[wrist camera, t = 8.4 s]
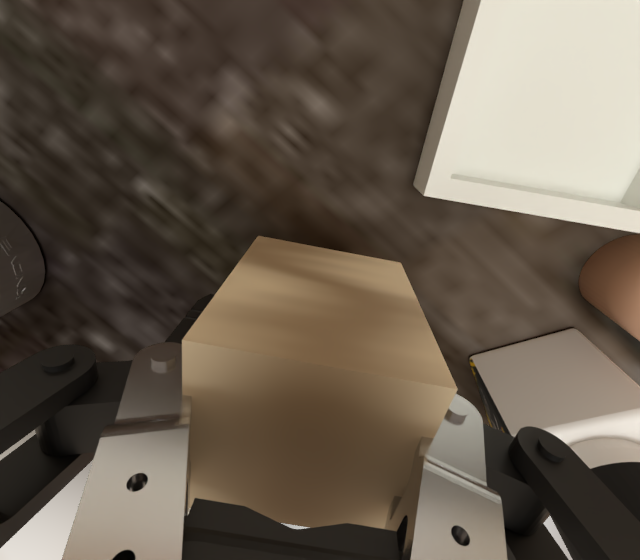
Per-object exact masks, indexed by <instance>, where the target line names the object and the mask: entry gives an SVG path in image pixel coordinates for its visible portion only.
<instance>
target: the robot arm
mask: <svg viewBox="0 0 640 560" xmlns="http://www.w3.org/2000/svg"><path fill="white" fill-rule="evenodd" d="M44 277H45V267H44V259H43V257H42V254H41V251H40V248H39V246H38V244H37V242H36V240H35V239H34V237H33V235H32V233H31V232H30V231H29V229H28V228H27V227H26V225H25V224H24V223H23V222H22V220H21V219H20V218H19V217H18V216H17V215H16V214H15V213H14V212H13V211H12V210H11V209H10V208H9V207H7V206H6V205H5V204H3V203H2V202H1V201H0V317H1V316H3V315H5V314H7V313H8V312H10V311H12V310H14V309H15V308H17V307H19V306H21V305H22V304H24V303H26V302H28V301H29V300H31V299H33V298H34V297H35V296H36V295H37V294H38V293H39V292H40V290H41V288H42V286H43V283H44ZM213 297H214V295H213V294H209V295H208V296H206V297H204V298H202V299H200V300H198V301H197V303H196V304H195V305H194V306H193V308H192V309H191V311H189V313H188V314H187V315H186V317H185V318H184V319H183V320H182V321H181V322H180V324H179V325H178V326H177V327H176V329H175V330H174V331H173V332H172V334H171V335H170V336H169V337H168V339H167V340H166V341H165V342H164V343H157V344H154V345H151V346H148V347H146V348H144V349H142V350H141V351H140V352H138V353H137V354H136V356H135V357H134V359H133V360H131V361H121V362H101V363H96V357H95V354H94V352H93V351H92V350H91V349H89V348H87V347H84V346H80V345H62V346H56V347H52V348H49V349H46V350H43V351H40V352H38V353H36V354H34V355H32V356H31V357H29V358H27V359H25V360H23V361H21V362H20V363H18V364H16V365H14V366H12V367H10V368H9V369H7V370H5V371H3V372H1V373H0V454H1V453H3V452H4V451H5V450H7V449H8V448H10V447H11V446H12V445H14V444H15V443H17V442H18V441H19V440H21V439H22V438H23V437H25V436H26V435H28V434H29V433H30V432H31V431H33V430H34V429H35V431H36V434H35V435H34V436H33V437H31V438H30V439H29V440H27V441H26V442H25V443H23V444H22V445H21V446H19V447H18V448H17V449H15V450H14V451H13V452H11V453H10V454H9V455H7V456H6V457H5V458H3V459H2V460H1V461H0V548H1V547H2V546H3V545H4V544H5V543H6V542H7V541H8V540H9V539H10V538H11V537H12V536H13V535H15V533H17V531H19V530H20V529H21V528H22V527H23V526H24V525H25V524H26V523H27V522H28V521H29V520H30V519H31V518H32V517H33V516H34V515H35V514H36V513H38V512H39V511H40V510H41V509H42V508H43V507H44V506H45V505H46V504H47V503H48V502H49V501H50V500H51V499H52V498H53V497H54V496H55V495H56V494H57V493H58V492H60V491H61V490H62V489H63V488H64V487H65V486H66V485H67V484H68V483H69V482H70V481H71V480H72V479H73V478H74V477H75V476H76V475H77V474H78V473H79V472H80V471H82V470H83V468H85V467H86V466H87V465H88V464H89V463H90V462H91V461H92V460H93V463H92V466H91V469H90V472H89V475H88V478H87V481H86V485H85V488H84V491H83V494H82V497H81V500H80V503H79V507H78V510H77V513H76V516H75V520H74V522H73V526H72V529H71V532H70V535H69V538H68V542H67V545H66V548H65V551H64V554H63V558H62V560H568V558H567V557H566V556H565V554H564V553H563V551H562V550H561V548H560V547H559V545H558V544H557V543H556V541H555V540H554V538H553V537H552V536H551V534H550V533H549V531H548V530H547V528H546V527H545V526H544V524H543V523H544V522H545V520H546V519H547V518H548V517H549V515H550V514H551V516H552V517H553V518H554V520H555V521H556V522H557V524H558V525H559V527H560V528H561V529H562V531H563V532H564V533H565V535H566V536H567V537H568V539H569V540H570V542H571V543H572V544H573V546H574V547H575V548H576V550H577V551H578V552H579V554H580V555H581V556H582V558H583V559H584V560H640V522H639V521H638V520H637V518H636V517H635V516H634V515H633V514H632V513H631V512H630V511H629V510H628V509H627V508H626V507H625V506H624V505H623V503H622V502H621V501H620V500H619V499H618V498H617V497H616V496H615V495H614V494H613V493H612V492H611V491H610V490H609V489H608V487H607V486H606V485H605V484H604V483H603V482H602V481H601V480H600V479H599V478H598V477H597V476H596V475H595V474H594V473H593V471H592V470H591V469H590V468H589V467H588V466H587V465H586V464H585V463H584V462H583V461H582V460H581V459H580V458H579V456H578V455H577V454H576V453H575V452H574V451H573V450H572V449H571V448H570V447H569V446H568V445H567V444H566V443H564V442H563V441H562V440H561V439H559V438H558V437H556V436H555V435H553V434H551V433H549V432H547V431H545V430H543V429H540V428H537V427H532V426H527V427H523V428H521V429H520V430H519V431H518V433H517V434H516V436H515V437H513V436H511V435H509V434H506V433H504V432H502V431H499V430H497V429H494V428H492V427H490V426H488V425H486V424H484V423H483V420H482V417H481V415H480V413H479V412H478V410H477V409H476V408H475V407H474V406H473V405H472V404H471V403H470V402H469V401H467V400H466V399H464V398H463V397H461V396H459V395H457V394H455V396H454V398H453V400H452V402H451V404H450V406H449V408H448V410H447V412H446V414H445V416H444V419H443V421H442V423H441V425H440V427H439V429H438V431H437V433H436V435H435V437H434V438H428V437H421V439H420V441H419V444H418V446H417V448H416V450H415V454H414V460H413V465H412V470H411V475H410V478H409V481H408V484H407V487H406V490H405V492H404V494H403V496H402V497H399V496H394V498H393V500H392V502H391V504H390V507H389V510H388V515H387V519H386V524H385V528H384V529H381V528H375V527H369V526H363V525H357V524H351V523H343V524H336V525H329V526H321V527H314V528H307V529H298V530H297V529H292V528H289V527H287V526H285V525H283V524H281V523H279V522H277V521H275V520H273V519H271V518H269V517H266V516H264V515H262V514H260V513H258V512H256V511H254V510H252V509H250V508H248V507H246V506H241V505H235V504H229V503H223V502H217V501H211V500H205V499H199V498H195V499H194V502H193V504H192V507H191V510H190V512H189V501H190V478H191V461H190V431H191V408H192V396H187V395H182V339H183V338H184V336H185V335H186V334H187V332H188V331H189V330H190V328H191V327H192V326H193V324H194V323H195V321H196V320H197V319H198V317H199V316H200V315H201V313H202V312H203V310H204V309H205V308H206V306H207V305H208V304H209V302H210V301H211V300H212V298H213Z"/></svg>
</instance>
